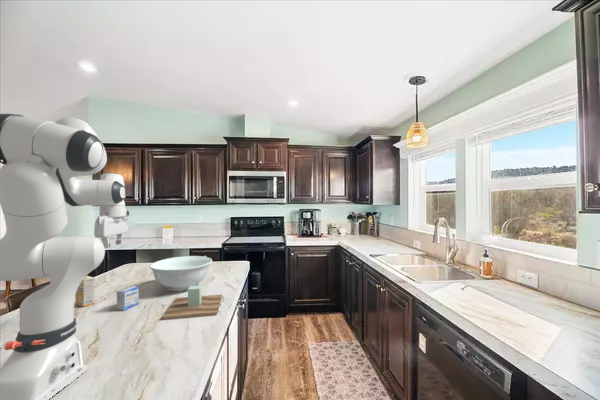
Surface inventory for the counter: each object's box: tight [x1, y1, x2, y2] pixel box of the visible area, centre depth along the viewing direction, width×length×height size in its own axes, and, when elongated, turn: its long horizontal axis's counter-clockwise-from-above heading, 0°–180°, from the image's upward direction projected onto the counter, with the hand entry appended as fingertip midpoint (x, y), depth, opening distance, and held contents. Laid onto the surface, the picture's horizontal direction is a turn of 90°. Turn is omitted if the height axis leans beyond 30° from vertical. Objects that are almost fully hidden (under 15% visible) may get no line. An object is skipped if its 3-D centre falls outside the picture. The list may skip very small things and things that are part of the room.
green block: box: [187, 284, 203, 307], centre depth 121 cm, size 5×5×8 cm
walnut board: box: [161, 294, 223, 321], centre depth 121 cm, size 22×22×1 cm
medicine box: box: [116, 285, 140, 312], centre depth 122 cm, size 8×4×9 cm, turn 168°
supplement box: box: [75, 275, 96, 308], centre depth 125 cm, size 8×5×13 cm, turn 62°
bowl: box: [149, 255, 213, 292], centre depth 150 cm, size 32×32×15 cm
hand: (113, 246), depth 108 cm, fingers open, 8 cm apart
